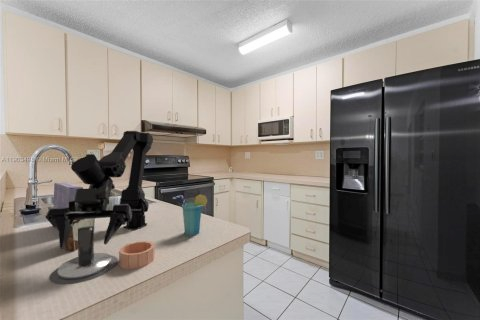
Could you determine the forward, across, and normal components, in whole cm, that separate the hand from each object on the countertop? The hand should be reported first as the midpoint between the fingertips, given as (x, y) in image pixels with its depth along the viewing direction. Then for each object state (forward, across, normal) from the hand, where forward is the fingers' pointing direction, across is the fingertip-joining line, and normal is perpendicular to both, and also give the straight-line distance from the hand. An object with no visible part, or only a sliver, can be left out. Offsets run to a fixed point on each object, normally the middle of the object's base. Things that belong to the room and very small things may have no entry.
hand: (83, 246), depth 53 cm
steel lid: (+3, 0, +5) cm, 6 cm away
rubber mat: (+4, 0, +6) cm, 7 cm away
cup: (-9, +27, +19) cm, 34 cm away
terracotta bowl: (+3, +12, +6) cm, 14 cm away
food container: (-8, -9, +18) cm, 22 cm away
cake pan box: (-21, -18, +31) cm, 42 cm away
